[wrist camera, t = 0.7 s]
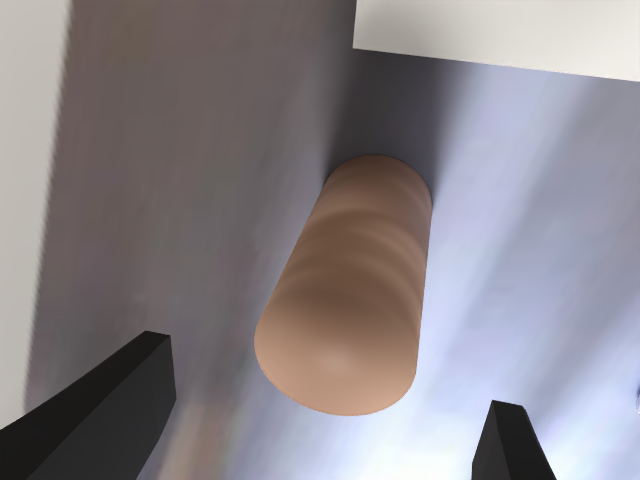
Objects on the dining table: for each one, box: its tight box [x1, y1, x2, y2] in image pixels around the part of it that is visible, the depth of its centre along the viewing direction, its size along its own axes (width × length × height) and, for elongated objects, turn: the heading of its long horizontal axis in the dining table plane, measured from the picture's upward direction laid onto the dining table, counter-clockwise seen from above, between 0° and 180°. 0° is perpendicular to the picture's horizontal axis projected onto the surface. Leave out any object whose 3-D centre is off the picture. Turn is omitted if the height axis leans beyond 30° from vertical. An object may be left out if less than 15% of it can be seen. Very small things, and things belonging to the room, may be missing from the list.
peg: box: [254, 155, 432, 416], centre depth 17 cm, size 4×4×8 cm
